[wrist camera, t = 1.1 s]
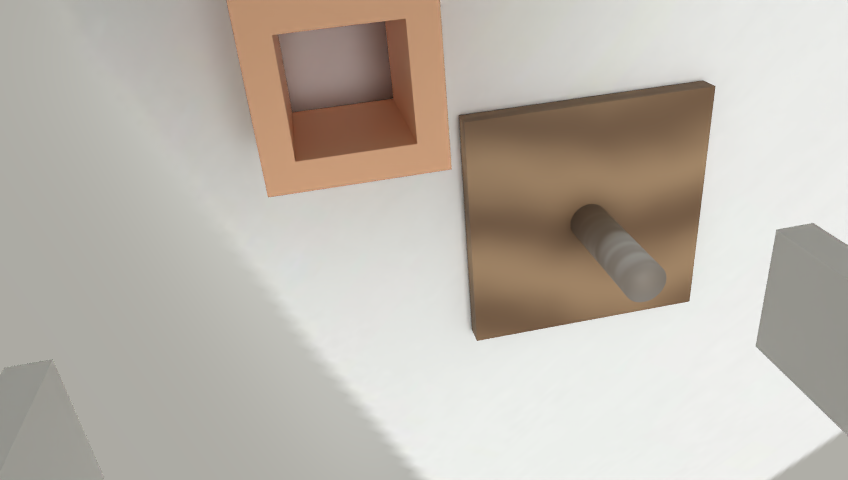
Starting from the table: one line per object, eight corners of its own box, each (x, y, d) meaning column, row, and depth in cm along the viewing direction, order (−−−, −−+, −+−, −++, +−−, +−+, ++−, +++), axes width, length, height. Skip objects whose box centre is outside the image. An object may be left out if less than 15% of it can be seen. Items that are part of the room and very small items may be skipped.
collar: (236, -23, 31) (226, 0, 25) (407, -42, 32) (438, -24, 26) (269, 142, 35) (268, 197, 29) (422, 120, 36) (451, 169, 30)
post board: (458, 115, 36) (503, 172, 29) (703, 80, 38) (801, 126, 31) (472, 329, 43) (510, 418, 36) (679, 291, 45) (755, 369, 38)
